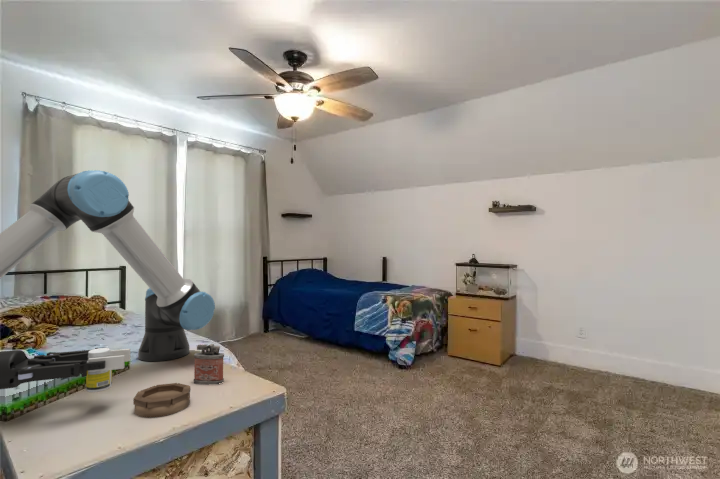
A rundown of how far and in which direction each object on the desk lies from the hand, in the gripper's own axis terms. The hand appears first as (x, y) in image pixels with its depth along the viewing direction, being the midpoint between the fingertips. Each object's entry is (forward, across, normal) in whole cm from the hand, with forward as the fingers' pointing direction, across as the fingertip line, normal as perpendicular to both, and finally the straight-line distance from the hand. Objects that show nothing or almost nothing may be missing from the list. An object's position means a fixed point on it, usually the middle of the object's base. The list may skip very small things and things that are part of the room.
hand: (126, 358), depth 84 cm
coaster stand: (+8, +3, -11) cm, 14 cm away
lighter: (+17, -10, -11) cm, 23 cm away
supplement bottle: (-5, 0, -6) cm, 8 cm away
